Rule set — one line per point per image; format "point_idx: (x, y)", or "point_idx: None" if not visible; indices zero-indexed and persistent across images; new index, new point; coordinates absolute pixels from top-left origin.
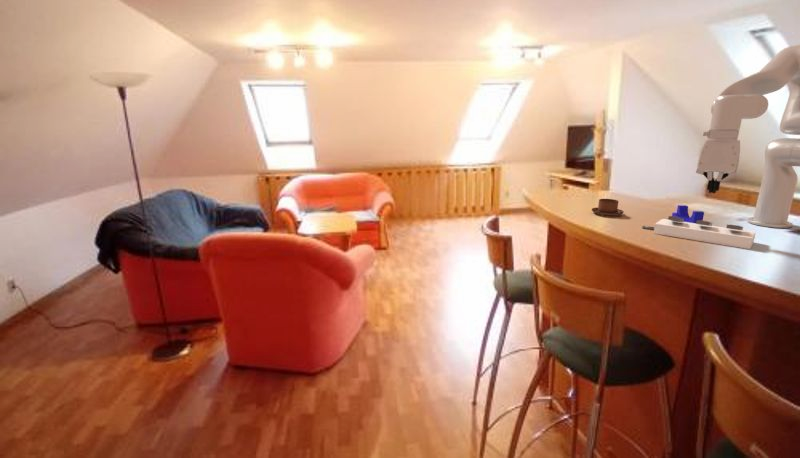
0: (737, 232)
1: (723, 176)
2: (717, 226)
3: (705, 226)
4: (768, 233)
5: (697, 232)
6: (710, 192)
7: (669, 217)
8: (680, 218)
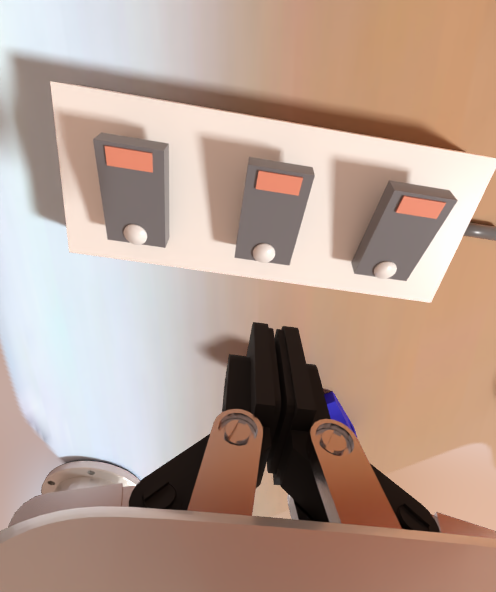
0: None
1: (188, 480)
2: (213, 271)
3: None
4: (78, 392)
5: (295, 123)
6: (283, 326)
7: (449, 196)
8: (395, 188)
